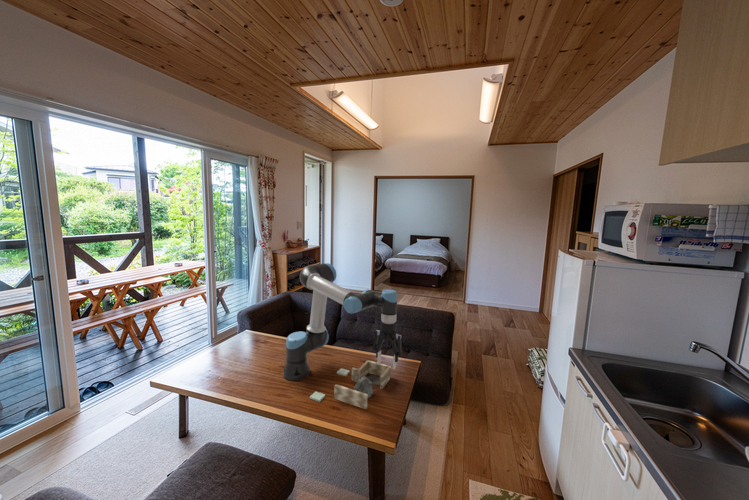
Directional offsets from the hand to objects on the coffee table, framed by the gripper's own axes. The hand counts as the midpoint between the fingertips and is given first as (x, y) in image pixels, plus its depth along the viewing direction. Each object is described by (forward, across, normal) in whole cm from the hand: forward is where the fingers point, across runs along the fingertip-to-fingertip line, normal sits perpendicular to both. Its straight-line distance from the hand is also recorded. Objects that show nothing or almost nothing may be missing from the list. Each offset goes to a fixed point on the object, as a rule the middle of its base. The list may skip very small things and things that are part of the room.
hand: (386, 365), depth 143 cm
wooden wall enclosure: (+19, -14, +6) cm, 25 cm away
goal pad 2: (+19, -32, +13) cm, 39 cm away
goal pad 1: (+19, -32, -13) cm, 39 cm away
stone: (+19, -12, 0) cm, 23 cm away
